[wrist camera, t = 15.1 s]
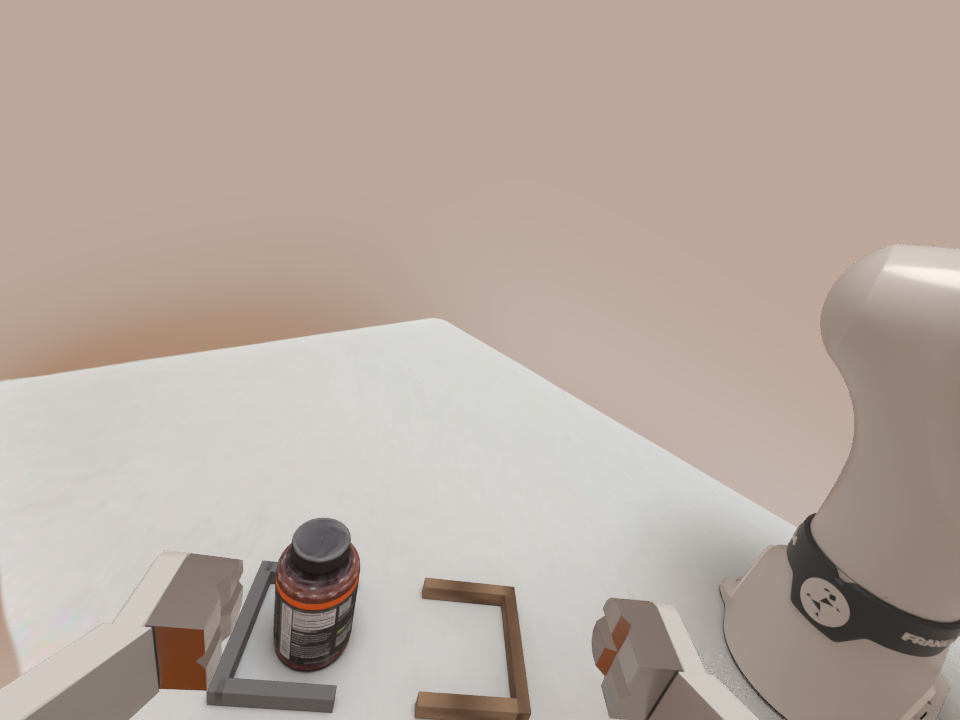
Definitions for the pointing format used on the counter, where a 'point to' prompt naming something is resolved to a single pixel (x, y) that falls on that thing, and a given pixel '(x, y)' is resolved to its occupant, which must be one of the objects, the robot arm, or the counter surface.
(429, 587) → the walnut bay
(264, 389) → the counter surface
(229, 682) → the charcoal bay
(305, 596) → the supplement bottle
